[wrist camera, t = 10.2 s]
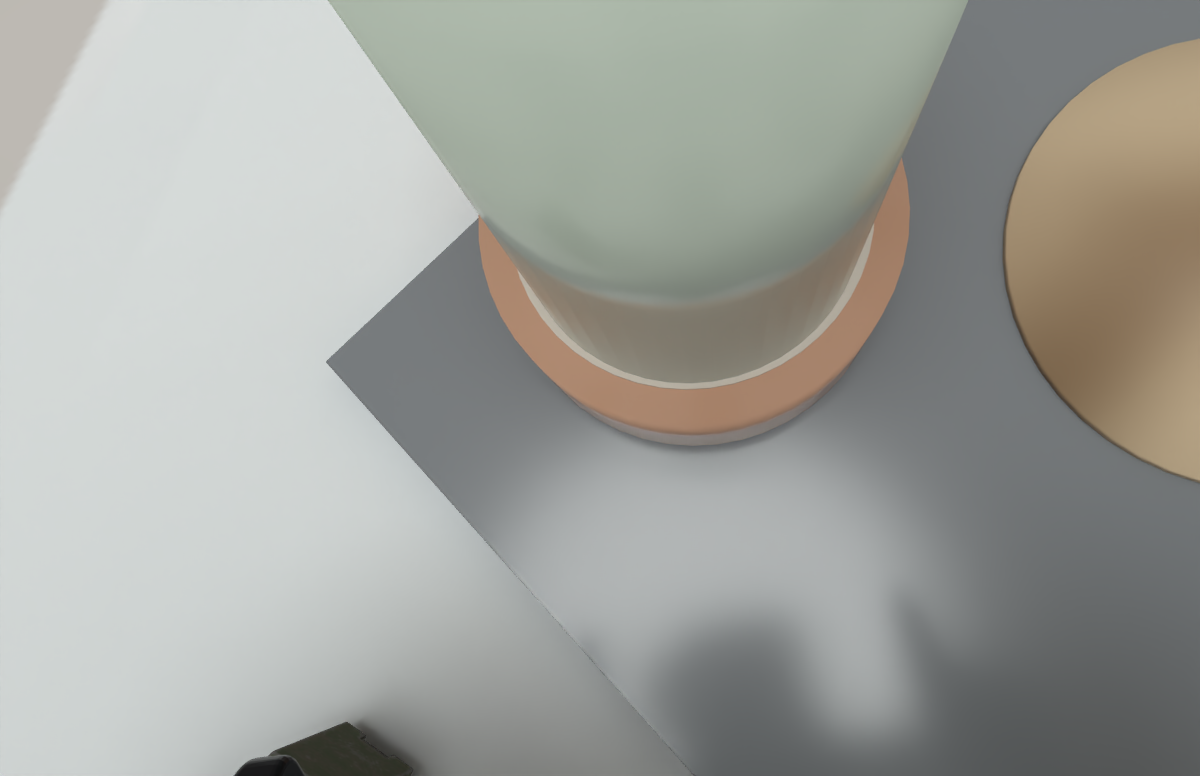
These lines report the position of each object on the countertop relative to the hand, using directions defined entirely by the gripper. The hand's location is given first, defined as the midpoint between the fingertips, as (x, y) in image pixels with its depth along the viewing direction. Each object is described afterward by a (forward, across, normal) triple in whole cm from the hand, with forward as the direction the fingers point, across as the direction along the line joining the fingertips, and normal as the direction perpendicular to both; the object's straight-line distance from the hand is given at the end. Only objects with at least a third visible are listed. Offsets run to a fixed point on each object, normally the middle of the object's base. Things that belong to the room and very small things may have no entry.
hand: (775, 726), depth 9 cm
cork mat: (+12, -10, +3) cm, 16 cm away
